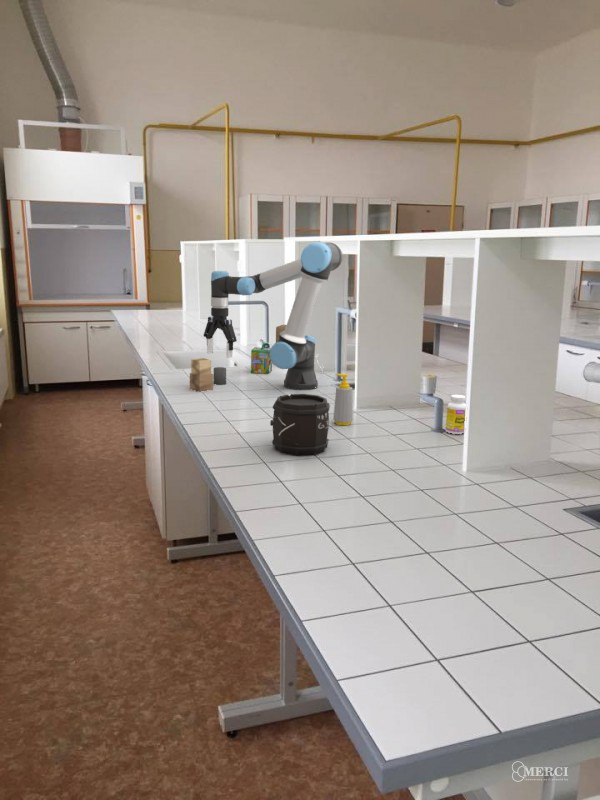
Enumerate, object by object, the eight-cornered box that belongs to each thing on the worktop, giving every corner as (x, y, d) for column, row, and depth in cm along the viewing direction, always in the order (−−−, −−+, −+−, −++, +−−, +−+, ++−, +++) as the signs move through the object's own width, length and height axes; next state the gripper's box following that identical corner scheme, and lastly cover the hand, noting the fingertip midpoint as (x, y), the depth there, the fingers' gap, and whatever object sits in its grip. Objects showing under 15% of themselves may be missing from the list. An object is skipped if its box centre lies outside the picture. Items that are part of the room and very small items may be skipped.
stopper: (228, 383, 302) (228, 368, 301) (218, 385, 298) (218, 369, 297) (220, 381, 306) (220, 366, 304) (211, 383, 302) (210, 368, 300)
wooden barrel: (274, 438, 220) (274, 391, 216) (329, 441, 218) (331, 394, 214) (266, 455, 202) (267, 404, 199) (326, 458, 201) (328, 407, 197)
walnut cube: (213, 390, 289) (212, 373, 287) (199, 392, 284) (199, 375, 283) (203, 387, 294) (202, 371, 292) (189, 389, 289) (189, 373, 287)
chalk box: (254, 370, 336) (254, 340, 333) (272, 371, 335) (272, 341, 332) (250, 373, 327) (250, 343, 324) (268, 374, 326) (269, 344, 323)
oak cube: (211, 373, 287) (211, 359, 286) (199, 375, 283) (199, 361, 282) (202, 371, 291) (202, 358, 290) (191, 373, 287) (191, 359, 286)
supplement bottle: (453, 435, 228) (455, 398, 225) (441, 430, 234) (444, 394, 231) (469, 434, 231) (472, 397, 228) (457, 429, 237) (460, 393, 234)
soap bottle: (332, 420, 244) (334, 371, 240) (352, 421, 244) (354, 372, 240) (333, 425, 237) (334, 375, 233) (352, 426, 237) (355, 376, 233)
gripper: (245, 309, 288) (244, 358, 293) (209, 304, 305) (209, 350, 310) (231, 310, 283) (231, 360, 288) (195, 305, 300) (195, 352, 305)
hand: (219, 355), depth 299 cm, fingers open, 13 cm apart
